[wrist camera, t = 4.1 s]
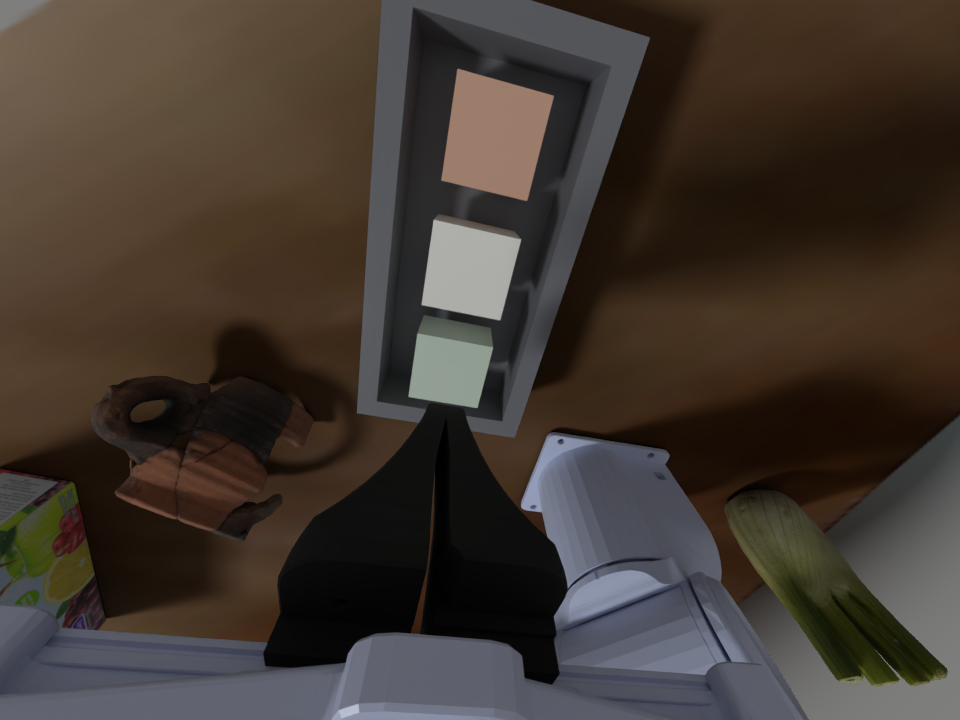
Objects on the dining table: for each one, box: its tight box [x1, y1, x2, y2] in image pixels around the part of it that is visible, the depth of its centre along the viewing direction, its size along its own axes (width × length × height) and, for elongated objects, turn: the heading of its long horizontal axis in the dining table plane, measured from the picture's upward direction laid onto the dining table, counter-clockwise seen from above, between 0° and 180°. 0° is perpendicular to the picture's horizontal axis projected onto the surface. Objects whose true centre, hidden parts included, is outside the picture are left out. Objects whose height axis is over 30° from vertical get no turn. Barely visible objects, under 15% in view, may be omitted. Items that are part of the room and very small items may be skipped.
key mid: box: [422, 214, 521, 320], centre depth 16 cm, size 4×4×2 cm
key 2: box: [441, 69, 554, 201], centre depth 14 cm, size 4×4×2 cm
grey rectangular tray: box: [357, 0, 650, 438], centre depth 17 cm, size 9×18×4 cm, turn 168°
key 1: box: [408, 315, 493, 408], centre depth 18 cm, size 4×4×2 cm
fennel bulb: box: [724, 489, 948, 686], centre depth 24 cm, size 6×5×12 cm
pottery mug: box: [91, 376, 314, 541], centre depth 22 cm, size 12×10×8 cm
